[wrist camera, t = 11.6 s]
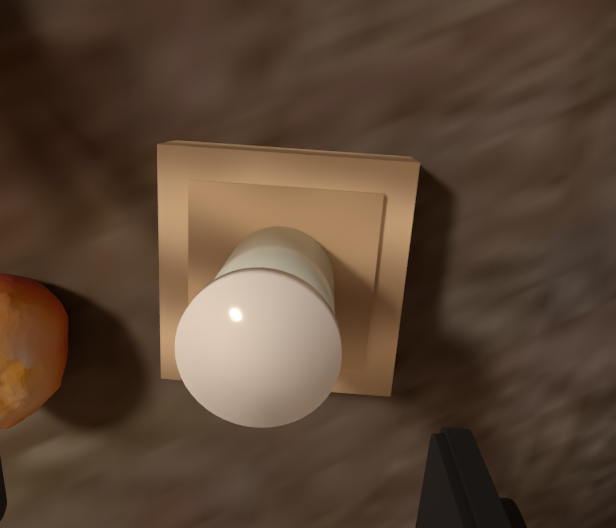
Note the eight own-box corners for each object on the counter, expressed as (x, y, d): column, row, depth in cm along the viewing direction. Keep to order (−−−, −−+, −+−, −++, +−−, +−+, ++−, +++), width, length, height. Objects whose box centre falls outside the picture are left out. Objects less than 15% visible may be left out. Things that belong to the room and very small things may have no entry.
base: (175, 140, 27) (155, 144, 24) (410, 156, 26) (421, 163, 23) (177, 352, 30) (159, 380, 27) (384, 368, 30) (391, 399, 27)
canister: (223, 218, 24) (173, 268, 17) (342, 226, 24) (348, 281, 17) (221, 328, 26) (175, 420, 18) (333, 336, 26) (334, 433, 18)
